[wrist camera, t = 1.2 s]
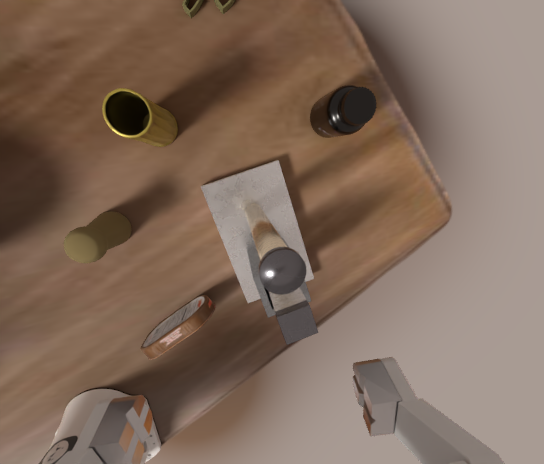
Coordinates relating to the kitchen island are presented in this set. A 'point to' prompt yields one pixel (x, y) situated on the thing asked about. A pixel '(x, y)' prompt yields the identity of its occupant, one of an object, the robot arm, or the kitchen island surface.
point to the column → (294, 315)
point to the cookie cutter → (198, 3)
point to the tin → (178, 327)
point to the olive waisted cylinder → (97, 237)
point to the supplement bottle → (342, 111)
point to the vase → (138, 118)
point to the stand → (260, 233)
